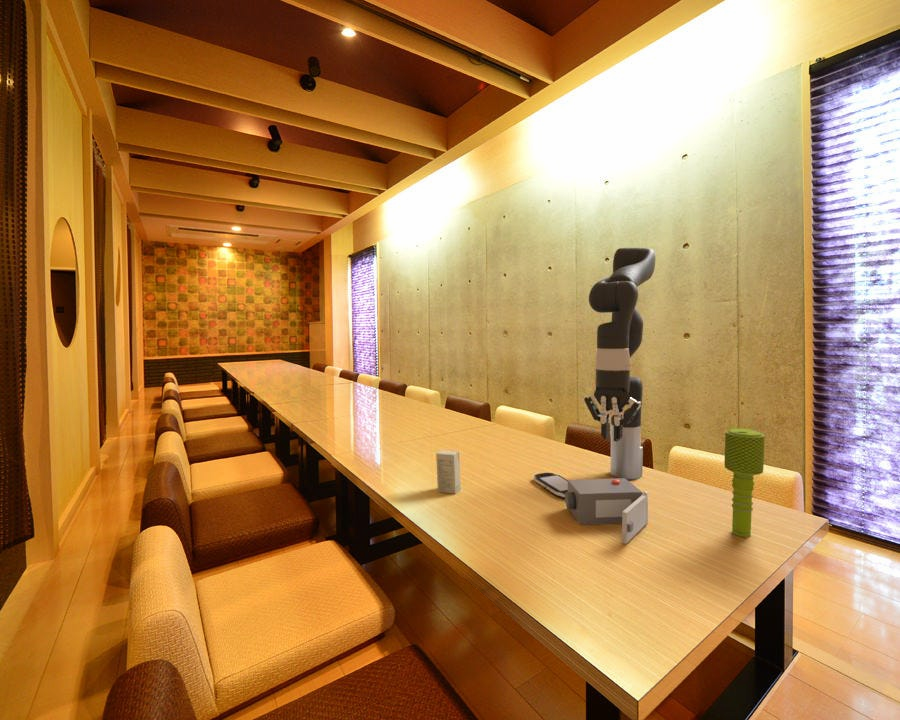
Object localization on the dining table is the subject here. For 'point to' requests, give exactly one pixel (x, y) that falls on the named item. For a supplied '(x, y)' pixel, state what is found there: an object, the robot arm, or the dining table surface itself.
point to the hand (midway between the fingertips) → (611, 439)
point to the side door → (635, 517)
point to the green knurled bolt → (743, 473)
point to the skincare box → (448, 471)
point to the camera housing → (600, 499)
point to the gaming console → (552, 483)
